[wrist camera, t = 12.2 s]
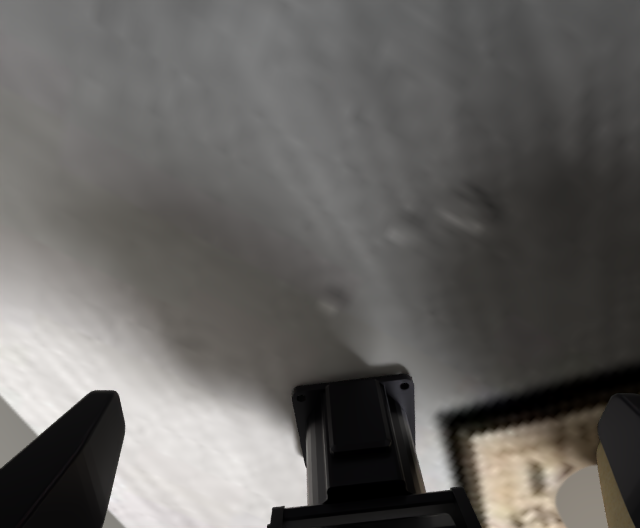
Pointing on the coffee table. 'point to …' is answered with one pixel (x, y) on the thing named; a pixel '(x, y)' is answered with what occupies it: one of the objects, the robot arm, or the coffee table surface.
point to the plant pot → (611, 494)
